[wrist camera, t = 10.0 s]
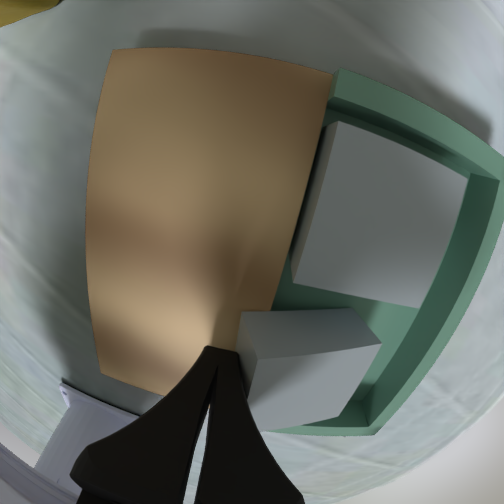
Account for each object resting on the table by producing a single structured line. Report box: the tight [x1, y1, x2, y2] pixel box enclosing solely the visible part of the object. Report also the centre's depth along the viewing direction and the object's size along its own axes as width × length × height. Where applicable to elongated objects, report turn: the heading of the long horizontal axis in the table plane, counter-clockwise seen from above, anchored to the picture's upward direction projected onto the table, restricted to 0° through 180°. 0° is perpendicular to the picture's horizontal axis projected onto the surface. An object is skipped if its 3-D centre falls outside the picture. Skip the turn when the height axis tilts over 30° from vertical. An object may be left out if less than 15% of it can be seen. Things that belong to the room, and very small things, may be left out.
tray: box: [268, 68, 504, 436], centre depth 10 cm, size 16×8×2 cm, turn 167°
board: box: [85, 48, 333, 408], centre depth 11 cm, size 16×8×2 cm, turn 167°
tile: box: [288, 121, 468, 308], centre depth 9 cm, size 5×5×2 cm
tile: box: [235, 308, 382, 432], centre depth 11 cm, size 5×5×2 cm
